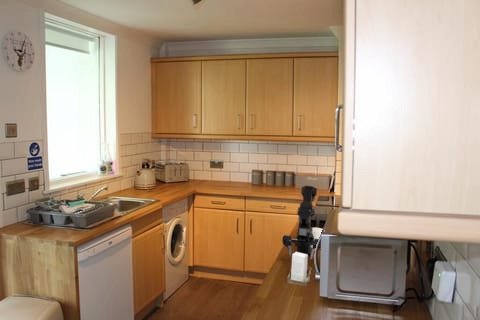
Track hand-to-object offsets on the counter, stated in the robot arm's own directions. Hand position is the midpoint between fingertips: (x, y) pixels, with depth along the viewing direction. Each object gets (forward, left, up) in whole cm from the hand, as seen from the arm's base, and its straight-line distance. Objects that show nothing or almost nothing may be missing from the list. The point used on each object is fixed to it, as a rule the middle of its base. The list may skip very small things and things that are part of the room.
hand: (300, 258), depth 197 cm
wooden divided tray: (+1, +1, -8) cm, 8 cm away
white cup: (-33, -26, -8) cm, 43 cm away
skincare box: (+4, +4, -8) cm, 10 cm away
